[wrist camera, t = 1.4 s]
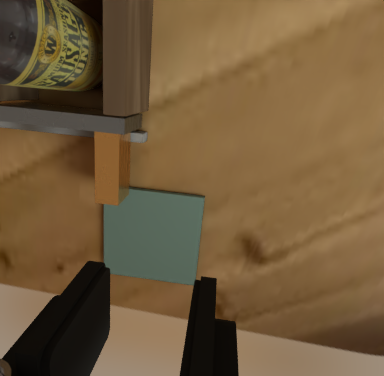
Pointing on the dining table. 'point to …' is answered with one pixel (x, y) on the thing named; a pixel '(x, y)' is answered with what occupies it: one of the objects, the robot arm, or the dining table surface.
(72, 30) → the sauce bottle
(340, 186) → the dining table surface
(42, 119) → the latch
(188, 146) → the dining table surface
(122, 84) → the cradle
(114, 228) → the mat
